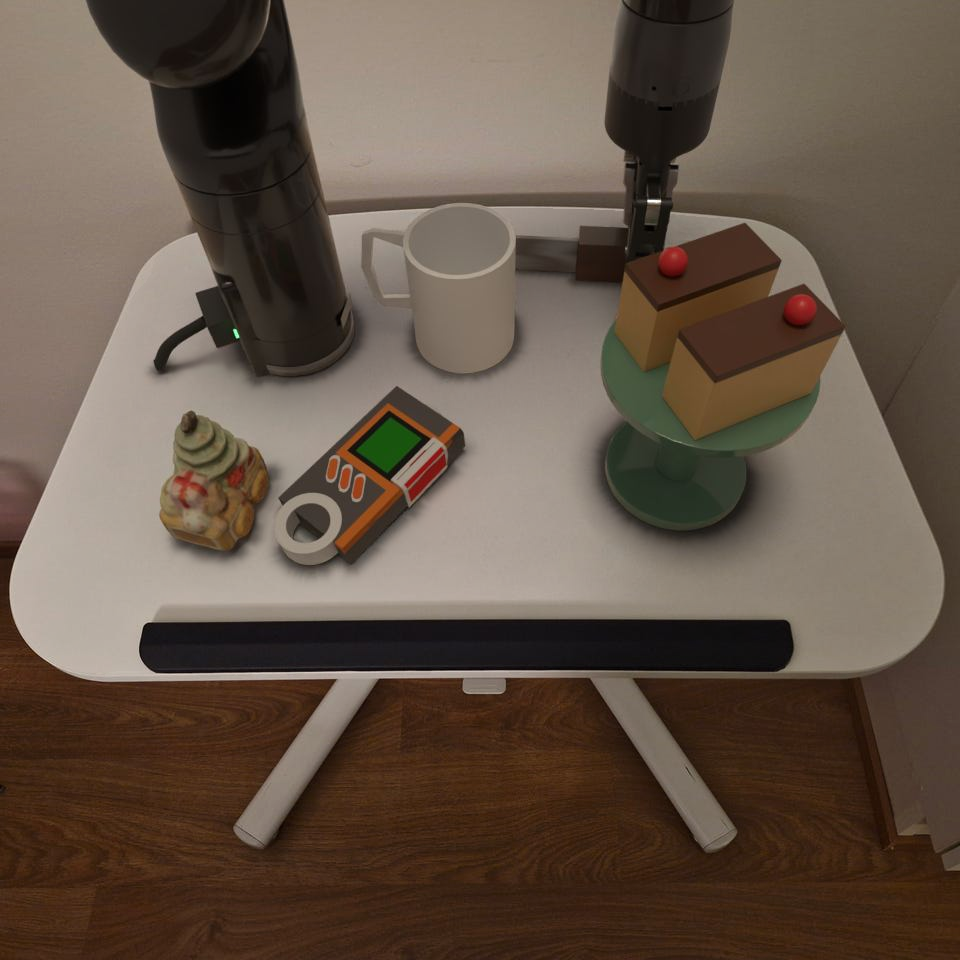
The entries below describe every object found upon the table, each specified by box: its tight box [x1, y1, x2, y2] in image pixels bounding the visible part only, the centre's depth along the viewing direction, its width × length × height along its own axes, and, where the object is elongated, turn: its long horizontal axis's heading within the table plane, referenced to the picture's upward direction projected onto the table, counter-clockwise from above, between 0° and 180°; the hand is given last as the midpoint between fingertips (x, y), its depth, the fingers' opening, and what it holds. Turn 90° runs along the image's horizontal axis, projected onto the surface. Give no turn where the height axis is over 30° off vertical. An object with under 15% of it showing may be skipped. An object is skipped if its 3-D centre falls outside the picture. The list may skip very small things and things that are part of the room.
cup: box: [360, 202, 516, 374], centre depth 61 cm, size 8×12×10 cm
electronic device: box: [273, 385, 466, 566], centre depth 56 cm, size 7×3×15 cm
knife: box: [515, 225, 665, 284], centre depth 67 cm, size 15×2×4 cm, turn 84°
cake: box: [614, 222, 846, 440], centre depth 44 cm, size 8×9×7 cm
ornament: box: [158, 410, 270, 552], centre depth 52 cm, size 8×6×10 cm
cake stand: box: [599, 317, 822, 531], centre depth 52 cm, size 13×13×12 cm
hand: (635, 253), depth 67 cm, fingers open, 8 cm apart
